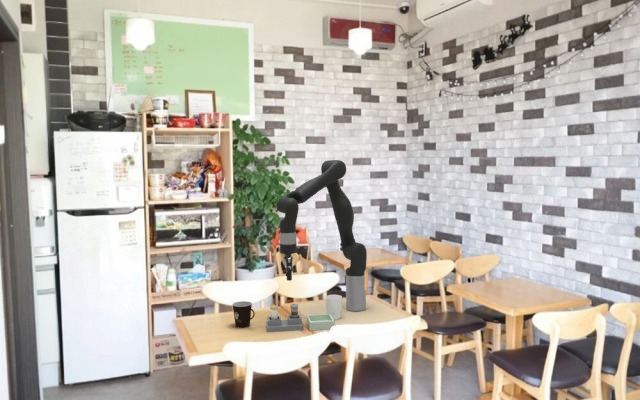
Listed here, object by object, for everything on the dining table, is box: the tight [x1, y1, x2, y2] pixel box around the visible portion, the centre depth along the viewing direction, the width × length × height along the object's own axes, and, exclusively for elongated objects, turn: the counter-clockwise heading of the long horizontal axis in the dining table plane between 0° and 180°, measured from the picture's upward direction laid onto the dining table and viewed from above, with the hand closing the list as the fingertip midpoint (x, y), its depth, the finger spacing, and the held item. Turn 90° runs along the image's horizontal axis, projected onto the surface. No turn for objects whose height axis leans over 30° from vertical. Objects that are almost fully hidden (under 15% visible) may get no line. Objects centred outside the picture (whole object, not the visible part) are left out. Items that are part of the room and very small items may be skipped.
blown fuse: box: [290, 303, 299, 319], centre depth 232 cm, size 3×3×8 cm
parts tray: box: [306, 313, 336, 331], centre depth 234 cm, size 11×11×4 cm
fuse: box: [269, 304, 279, 320], centre depth 231 cm, size 3×3×8 cm
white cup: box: [325, 294, 343, 321], centre depth 245 cm, size 8×8×10 cm
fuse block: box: [265, 314, 305, 333], centre depth 232 cm, size 16×9×4 cm, turn 99°
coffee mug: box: [232, 300, 256, 329], centre depth 234 cm, size 12×9×10 cm
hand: (288, 278), depth 234 cm, fingers open, 8 cm apart
